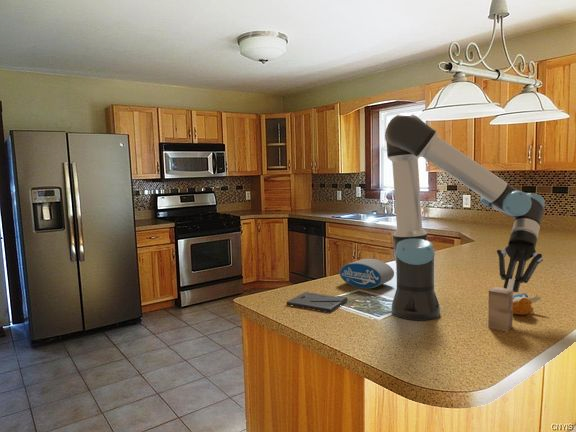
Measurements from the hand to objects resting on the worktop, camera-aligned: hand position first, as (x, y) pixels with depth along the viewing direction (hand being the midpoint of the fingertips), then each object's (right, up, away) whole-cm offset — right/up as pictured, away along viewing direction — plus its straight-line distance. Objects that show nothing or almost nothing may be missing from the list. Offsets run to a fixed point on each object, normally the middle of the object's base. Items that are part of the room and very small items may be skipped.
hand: (508, 300), depth 122 cm
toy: (+9, -6, +11) cm, 15 cm away
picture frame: (-55, -7, +26) cm, 61 cm away
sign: (-33, -4, +47) cm, 58 cm away
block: (-4, -7, -2) cm, 9 cm away
